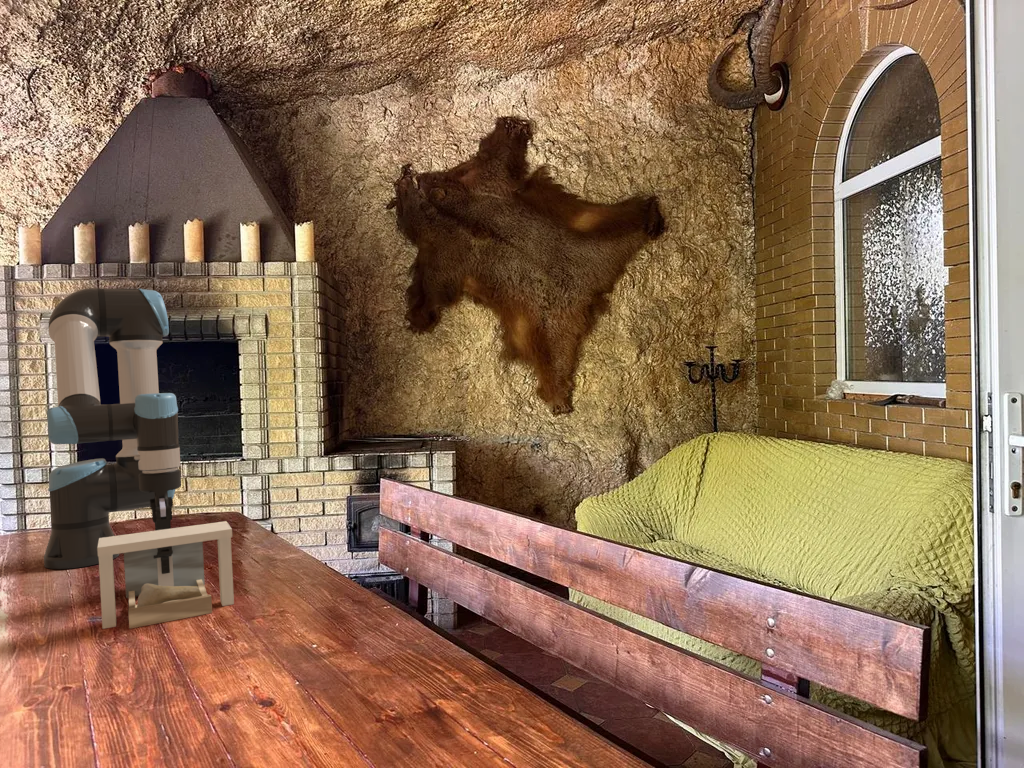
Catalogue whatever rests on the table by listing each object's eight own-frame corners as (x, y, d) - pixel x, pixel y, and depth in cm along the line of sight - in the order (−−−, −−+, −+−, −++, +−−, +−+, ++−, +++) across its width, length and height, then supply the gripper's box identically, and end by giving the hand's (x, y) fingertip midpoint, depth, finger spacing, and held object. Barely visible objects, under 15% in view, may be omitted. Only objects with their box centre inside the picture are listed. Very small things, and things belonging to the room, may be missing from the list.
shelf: (103, 619, 123) (99, 538, 122) (230, 596, 133) (226, 521, 132) (102, 633, 116) (97, 547, 115) (235, 607, 126) (231, 528, 125)
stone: (140, 619, 121) (138, 592, 120) (125, 612, 125) (123, 586, 124) (203, 601, 129) (202, 575, 129) (187, 595, 133) (186, 570, 133)
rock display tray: (126, 592, 137) (123, 547, 137) (202, 579, 144) (200, 536, 144) (126, 629, 117) (123, 576, 117) (215, 612, 124) (212, 562, 124)
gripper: (137, 467, 144) (143, 578, 145) (139, 477, 129) (145, 601, 130) (177, 463, 148) (183, 572, 148) (183, 472, 133) (189, 593, 133)
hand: (165, 585), depth 139 cm, fingers closed on rock display tray, 4 cm apart
